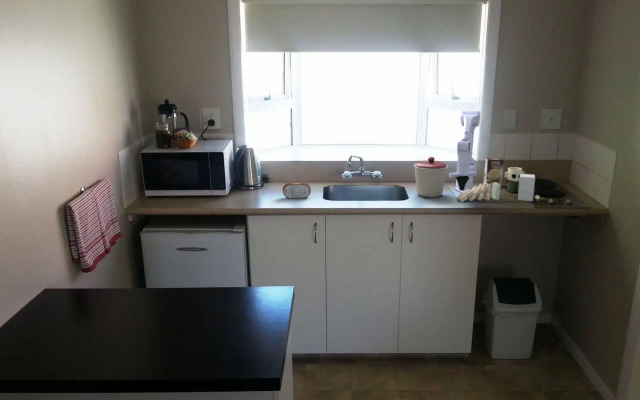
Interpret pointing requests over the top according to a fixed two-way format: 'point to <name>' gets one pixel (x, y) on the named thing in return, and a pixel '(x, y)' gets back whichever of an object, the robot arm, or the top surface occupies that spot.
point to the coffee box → (493, 171)
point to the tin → (296, 190)
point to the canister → (430, 177)
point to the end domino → (495, 190)
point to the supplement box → (526, 187)
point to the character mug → (513, 178)
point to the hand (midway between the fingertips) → (461, 190)
